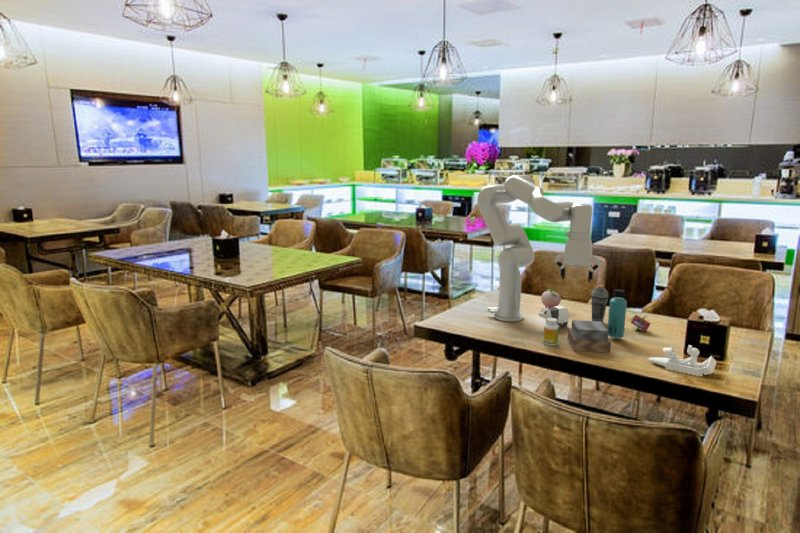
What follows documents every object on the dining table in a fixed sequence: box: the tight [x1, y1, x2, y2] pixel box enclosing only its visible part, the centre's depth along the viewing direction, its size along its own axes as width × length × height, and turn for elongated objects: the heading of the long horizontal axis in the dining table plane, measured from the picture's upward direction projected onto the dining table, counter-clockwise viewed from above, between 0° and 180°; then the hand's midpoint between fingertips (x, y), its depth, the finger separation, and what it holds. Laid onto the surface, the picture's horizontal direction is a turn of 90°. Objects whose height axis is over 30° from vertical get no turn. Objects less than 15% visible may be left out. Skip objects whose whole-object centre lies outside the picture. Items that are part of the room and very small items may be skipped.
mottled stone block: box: [567, 319, 612, 353], centre depth 199 cm, size 13×13×8 cm
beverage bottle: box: [606, 289, 628, 339], centre depth 205 cm, size 6×7×20 cm
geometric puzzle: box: [630, 314, 652, 333], centre depth 216 cm, size 7×7×8 cm
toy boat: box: [648, 344, 717, 377], centre depth 177 cm, size 11×20×9 cm, turn 54°
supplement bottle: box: [542, 318, 560, 346], centre depth 200 cm, size 5×5×10 cm
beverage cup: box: [590, 277, 609, 324], centre depth 225 cm, size 7×7×20 cm
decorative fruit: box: [540, 288, 562, 308], centre depth 244 cm, size 9×8×10 cm
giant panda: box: [538, 305, 570, 328], centre depth 219 cm, size 15×6×10 cm, turn 115°
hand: (576, 279), depth 204 cm, fingers open, 9 cm apart
